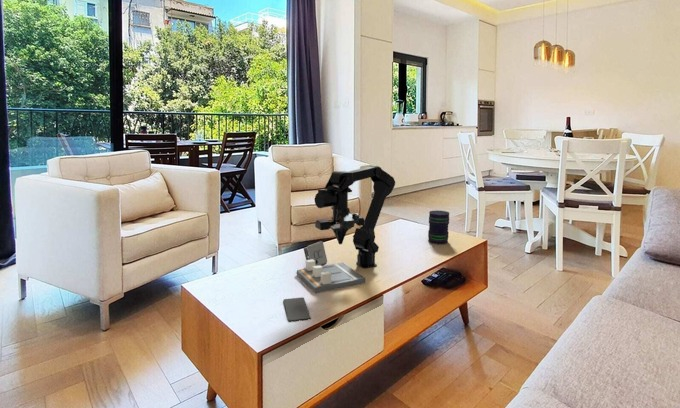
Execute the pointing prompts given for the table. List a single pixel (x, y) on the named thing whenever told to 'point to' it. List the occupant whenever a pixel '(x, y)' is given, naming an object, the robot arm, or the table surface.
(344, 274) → the breaker panel
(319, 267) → the handle middle
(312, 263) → the handle
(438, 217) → the storage jar
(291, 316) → the smartphone
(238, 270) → the table surface
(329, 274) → the handle
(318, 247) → the electrical switch
